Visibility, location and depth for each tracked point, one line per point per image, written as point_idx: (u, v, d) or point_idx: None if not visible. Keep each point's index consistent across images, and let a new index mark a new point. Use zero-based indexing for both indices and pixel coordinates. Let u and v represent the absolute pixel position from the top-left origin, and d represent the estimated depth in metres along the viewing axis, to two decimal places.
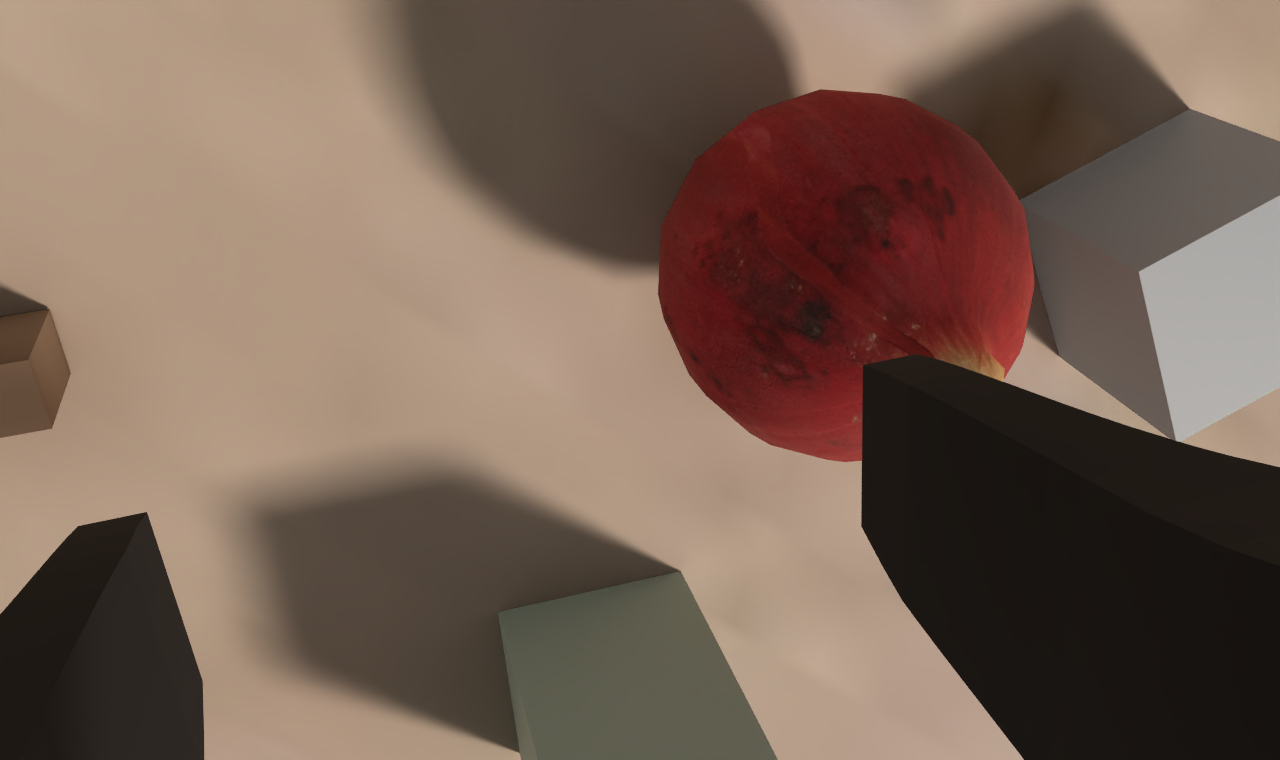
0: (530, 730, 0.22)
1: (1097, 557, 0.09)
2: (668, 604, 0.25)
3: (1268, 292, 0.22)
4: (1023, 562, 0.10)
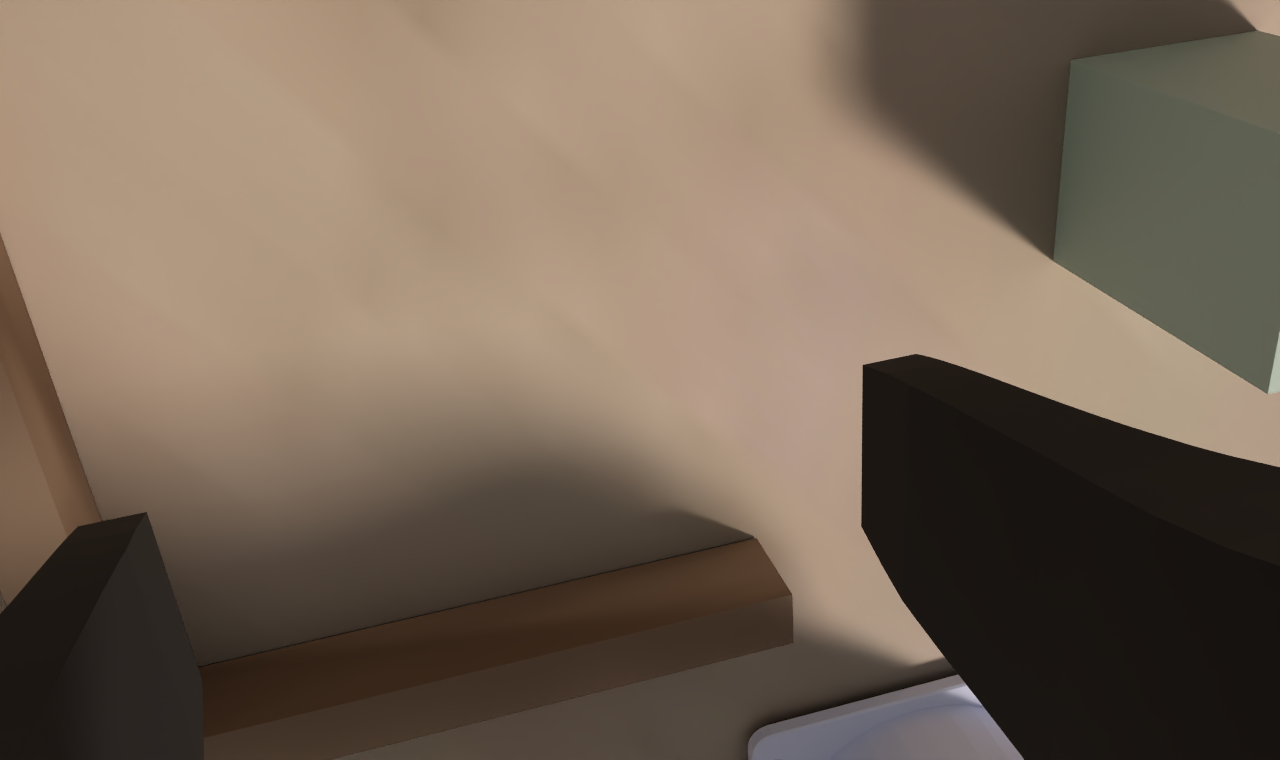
0: (1201, 107, 0.19)
1: (1097, 557, 0.09)
2: (1269, 44, 0.22)
3: None
4: (1023, 563, 0.10)
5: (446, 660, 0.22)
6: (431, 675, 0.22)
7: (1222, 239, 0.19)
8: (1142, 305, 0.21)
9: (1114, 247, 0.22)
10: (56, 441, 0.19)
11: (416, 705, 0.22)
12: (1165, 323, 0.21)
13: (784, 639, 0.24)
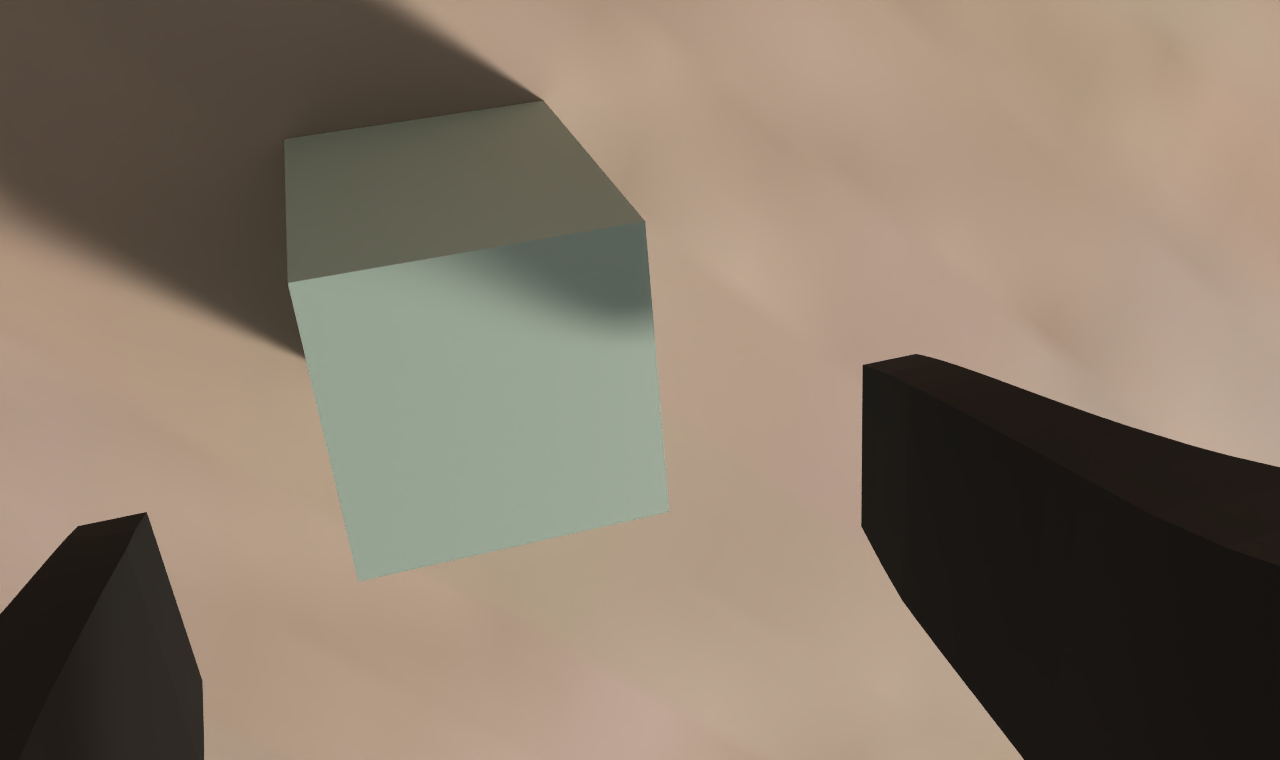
0: (287, 214, 0.15)
1: (1097, 557, 0.09)
2: (519, 121, 0.18)
3: None
4: (1023, 562, 0.10)
5: None
6: None
7: None
8: None
9: None
10: None
11: None
12: None
13: None
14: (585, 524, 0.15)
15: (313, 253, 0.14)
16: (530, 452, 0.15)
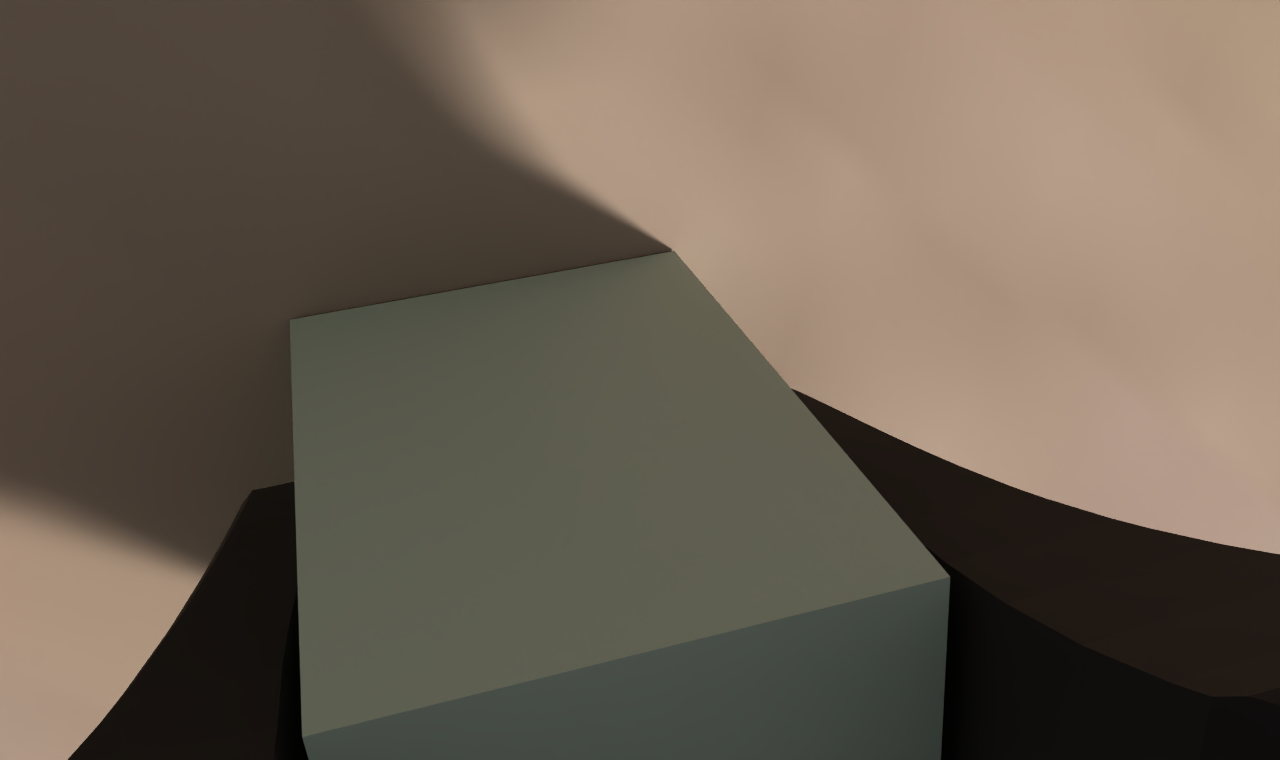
0: (298, 512, 0.09)
1: None
2: (648, 296, 0.12)
3: None
4: None
5: None
6: None
7: None
8: None
9: None
10: None
11: None
12: None
13: None
14: None
15: (347, 637, 0.07)
16: None
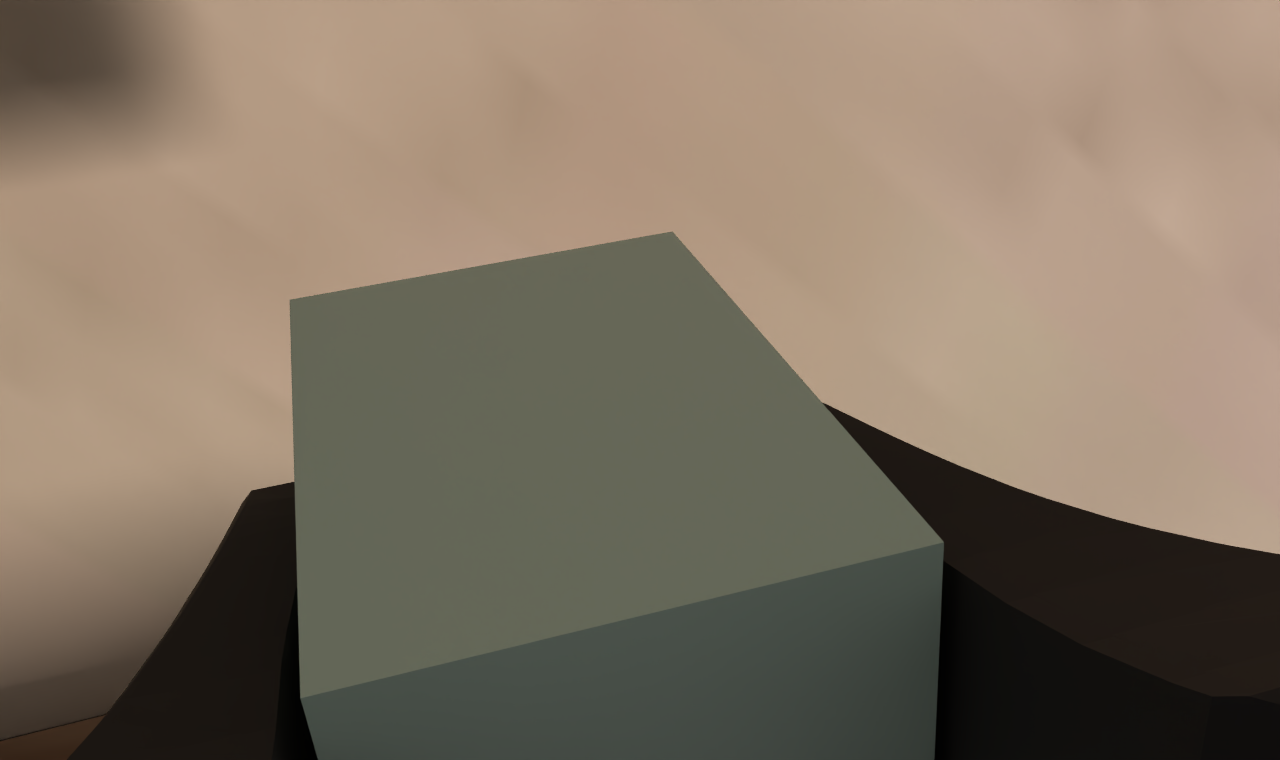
0: (297, 484, 0.09)
1: None
2: (646, 275, 0.12)
3: None
4: None
5: None
6: None
7: None
8: None
9: None
10: None
11: None
12: None
13: None
14: None
15: (347, 604, 0.08)
16: None
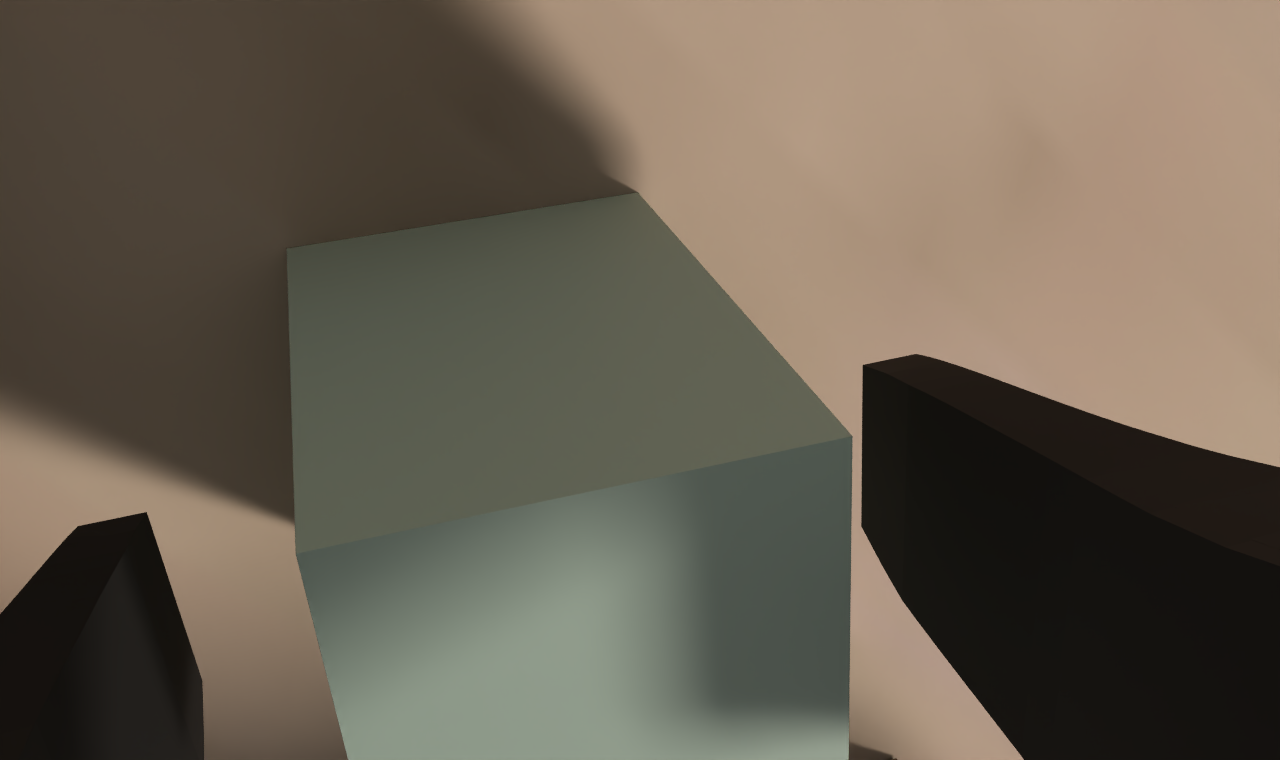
0: (293, 395, 0.10)
1: (1097, 557, 0.09)
2: (611, 228, 0.13)
3: None
4: (1023, 561, 0.10)
5: None
6: None
7: None
8: None
9: None
10: None
11: None
12: None
13: None
14: None
15: (336, 484, 0.09)
16: None
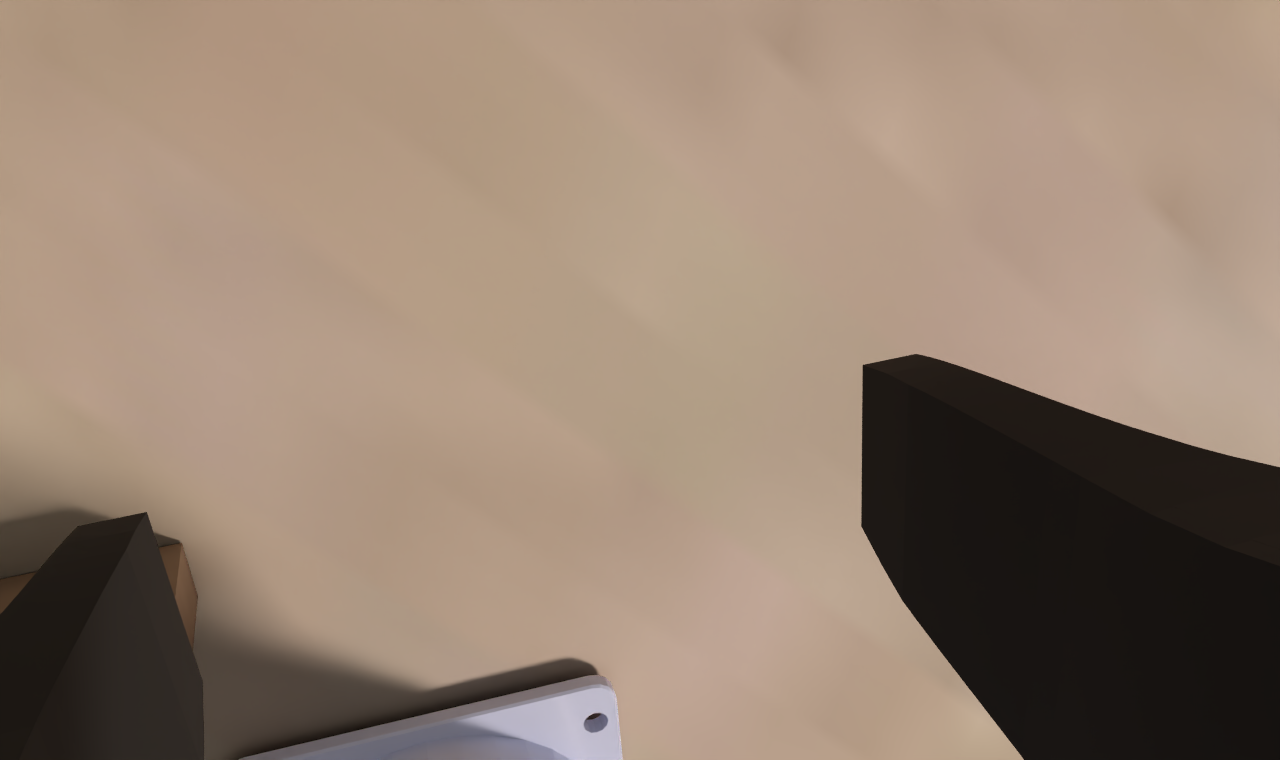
0: None
1: (1097, 557, 0.09)
2: None
3: None
4: (1023, 562, 0.10)
5: None
6: None
7: None
8: None
9: None
10: None
11: None
12: None
13: None
14: None
15: None
16: None
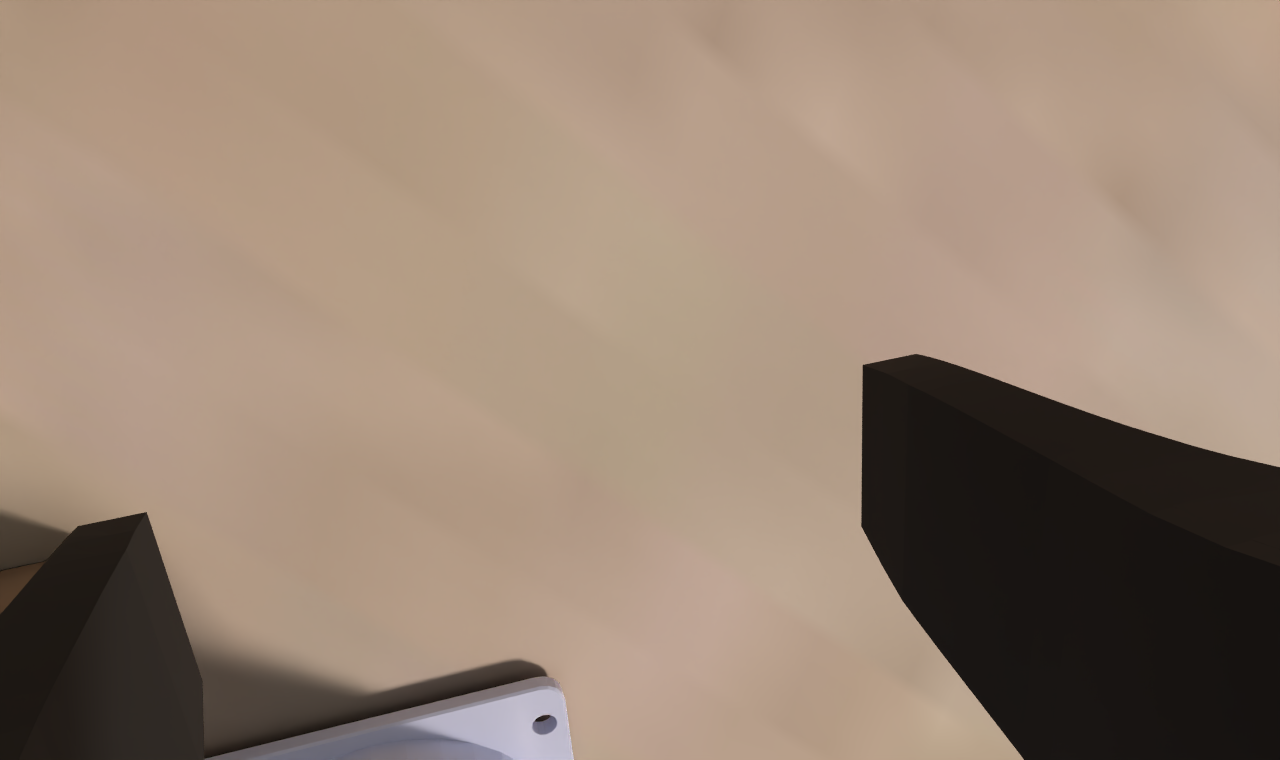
0: None
1: (1097, 557, 0.09)
2: None
3: None
4: (1023, 562, 0.10)
5: None
6: None
7: None
8: None
9: None
10: None
11: None
12: None
13: None
14: None
15: None
16: None
